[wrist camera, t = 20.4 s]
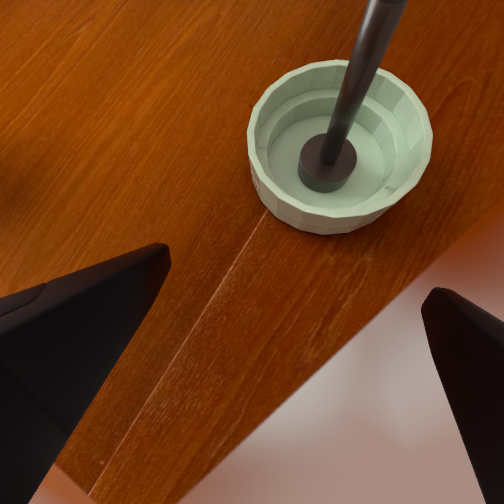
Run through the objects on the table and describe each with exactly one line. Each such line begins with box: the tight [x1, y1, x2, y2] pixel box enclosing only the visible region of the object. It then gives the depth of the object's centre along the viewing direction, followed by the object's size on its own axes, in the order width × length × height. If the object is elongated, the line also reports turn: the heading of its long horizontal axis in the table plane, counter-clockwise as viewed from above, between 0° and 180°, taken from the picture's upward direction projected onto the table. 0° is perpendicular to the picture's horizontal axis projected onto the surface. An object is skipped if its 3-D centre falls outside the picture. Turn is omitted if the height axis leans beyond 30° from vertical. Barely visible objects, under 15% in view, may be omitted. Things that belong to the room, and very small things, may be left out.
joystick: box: [298, 0, 409, 193], centre depth 16 cm, size 5×5×14 cm
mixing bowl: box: [247, 60, 433, 235], centre depth 21 cm, size 14×14×5 cm
